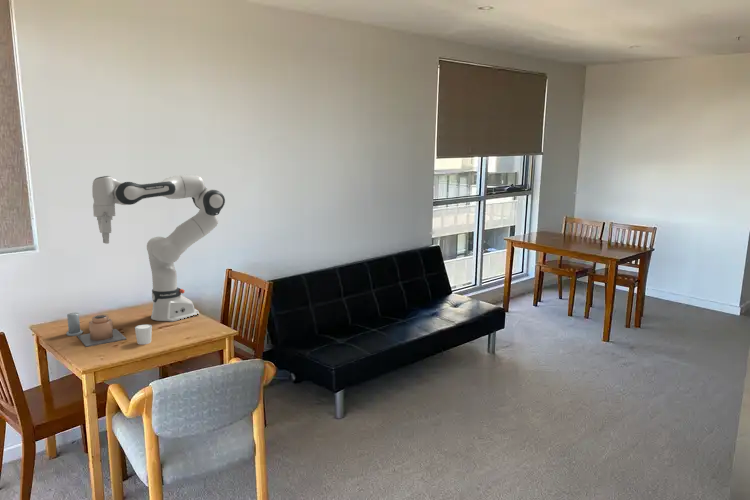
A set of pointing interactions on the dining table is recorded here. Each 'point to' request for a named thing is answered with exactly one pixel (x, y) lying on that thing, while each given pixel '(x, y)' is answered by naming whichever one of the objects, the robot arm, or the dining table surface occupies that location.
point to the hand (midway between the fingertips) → (106, 243)
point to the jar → (100, 332)
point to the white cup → (143, 334)
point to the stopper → (73, 324)
